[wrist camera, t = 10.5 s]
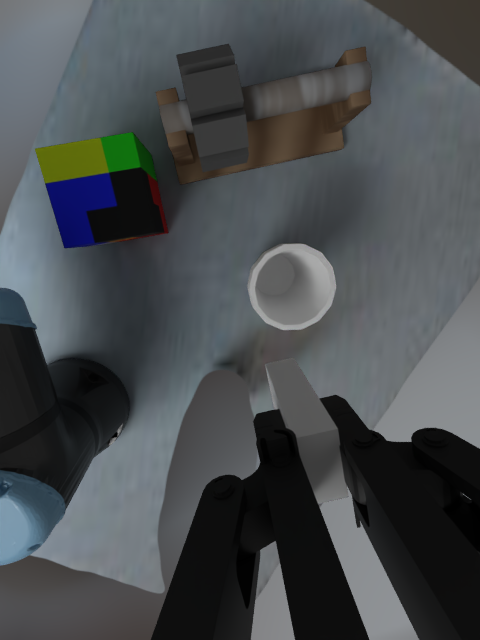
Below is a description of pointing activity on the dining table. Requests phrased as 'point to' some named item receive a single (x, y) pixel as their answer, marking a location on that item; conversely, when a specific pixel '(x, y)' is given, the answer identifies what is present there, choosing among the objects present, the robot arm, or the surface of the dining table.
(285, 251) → the foam cup
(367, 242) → the dining table surface
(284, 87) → the pipe rig
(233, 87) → the dark gray notched block
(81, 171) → the puzzle toy
